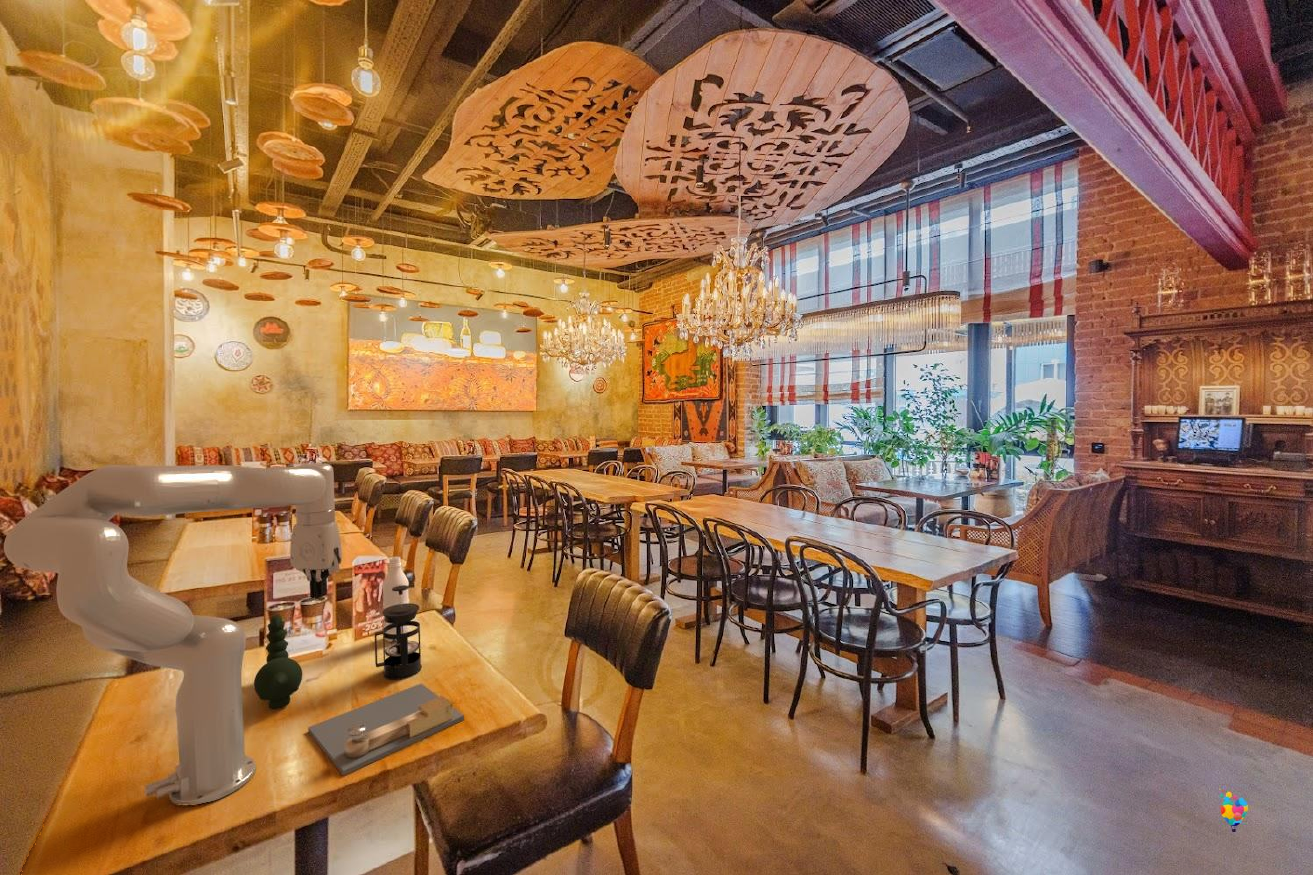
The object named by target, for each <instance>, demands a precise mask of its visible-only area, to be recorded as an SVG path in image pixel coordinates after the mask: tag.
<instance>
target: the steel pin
mask: <svg viewBox="0 0 1313 875" xmlns="http://www.w3.org/2000/svg"><path fill="white" fill-rule="evenodd" d="M365 731H366V725H364V724H358V725H355V726H352V727H351V728H349V730H348V735H350V736H352V742H353V743H357V742H360V741H362V740H363V733H364V732H365Z"/></svg>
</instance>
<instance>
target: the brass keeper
mask: <svg viewBox="0 0 1313 875" xmlns="http://www.w3.org/2000/svg"><path fill="white" fill-rule="evenodd" d="M452 707H453V702H451V701H450V700H449V699H447V698H446V697H445V696H443V695H441V696H439V697H438V698H436V699H433V700H431V701H428V702H426V703H424V704H421V705H419V710H420V711H422V712H423V713H424V714H425V715H422V716H420V717H418V718H415V719H413V720H411V721H408V722H407V736H408V737H409V738H410V739H411V738H413V737H415V736H417V735H419V734H422V733H424V732H426V731H428V730H430V729H432V728H435V727H437V726H439V725H441V724H443V723H446V722H448V721H450V720H452Z"/></svg>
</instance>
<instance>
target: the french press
mask: <svg viewBox="0 0 1313 875" xmlns="http://www.w3.org/2000/svg"><path fill="white" fill-rule="evenodd" d="M407 589H408V590H409V589H410V586H409V585H408V586H406V585H401V586H396V587H394V588H392V591H399V595H400V604H398V605H394V606H390V607H388V608H386V609H383V610H382V611H381V612H382V616H383V617H384V623H385V622H387V623H392V624H390V625H388V626H386V627H385V628H384V627H383V629H382V630H381V631H376V632H374V660H375V662H374V663H375V667H376V668H381V667H383V671H382V674H383V675H382V676H383V678H385V679H386V680H387V679H388V680H392V681H398V680H404V679H405V680H406V679H409V678H411V677H413V675H414V676H416V675H417V674H419V673H420V672H421V671H422V669H421V668H423V667H422V666H423V665H422V662H421V661H422V660H421V659H422V658H421V656H422V655H421V654H422V653H421V624H420V622H418V621H416V620H414V619H415V618H416V616H417V614H418V611H419V610H420V606H419V605H418V604H416V603H410V602H409V603H405V604H402V597H401V595H402V594H403V591H404V590H407ZM403 626H410V627H411V626H412V627H416V628H415V629H412V630H410V631H409V632H407V633H403ZM395 627H396V634H387V633H385V632H386V631H388V630H390V629H392V628H395ZM417 634H418V641H416V640H415V641H414V640H408V639H409V638H411V637H413V636H415V635H417ZM380 635H382V645H383V648H382V649H383V650H382V651H383V652H382V653H383V662H379V663H378V641H377V640H378V639H377V636H380ZM386 639H394V640H395V639H396V640H395V643H392V644H390V645H387V647H386V644H385V640H386ZM417 651H418V652H417ZM386 656H387V657H386ZM419 671H420V672H419ZM418 672H419V673H418Z"/></svg>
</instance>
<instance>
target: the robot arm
mask: <svg viewBox="0 0 1313 875" xmlns="http://www.w3.org/2000/svg"><path fill="white" fill-rule="evenodd" d="M334 477H335V474H334V467H333V466H332V465H331V464H328V463H321V462H318V463H316V462H315V463H306V464H300V465H298V466H297V465H296V466H271V467H265V468H263V467H261V468H260V467H248V466H241V465H240V466H238V465H225V464H224V465H222V464H216V465H215V464H213V465H211V464H209V465H208V464H207V465H204V464H203V465H126V464H125V465H123V464H109V465H106V466H101V467H98V468H96V469H95V470H92V471H90V472H89V473H87V474H85V475H84V476H82V477H81V478H79V479H77V480H76V481H74V482H73V483H71V484H70V485H68V486H67V487H65V488H63V490H61V491H59V492H58V493H57V494H56V495H55V496H53V497H51V498H50V499H48V500H47V501H45V503H43V504H41V505H40V506H39V507H37V508H36V509H34V510H33V511H32V512H30V513H28V514H27V515H26V516H25V517H23V518H22V519H20V521H18V522H17V523H16V524H15V525H14V526H13V527H12V528H11V529H10V530H9V532H8V533H7V535H6V537H5V539H4V543H3V551H4V555H5V557H6V559H7V560H8V561H9V562H11V563H12V564H13V565H15V566H17V567H19V568H21V569H23V570H24V569H25V570H29V571H34V572H35V571H36V572H43V573H53V574H57V581H56V590H55V591H56V601H57V606H58V609H59V611H60V613H61V614H62V616H63V617H65V618H66V619H68V620H69V621H70V622H72V623H73V624H76V625H78V626H80V627H81V631H82V633H83V635H84V638H85V639H86V640H87V642H89V643H90V644H91V645H94V646H95V647H98V648H99V649H102V650H104V651H108V652H110V653H113V654H116V655H119V656H122V657H125V658H127V659H131V660H133V661H137V662H139V663H141V664H142V663H143V664H146V665H148V666H149V665H150V666H153V667H159V668H165V669H171V670H177V671H182V672H183V678H182V681H181V683H180V684H179V688H178V689H177V692H176V696H175V713H176V725H177V726H176V727H177V728H176V729H177V746H178V761H179V764H178V765H176V766H175V767H174V768H175V769H174V770H175V771H174V772H172V773H170V774H168V777H164V778H162V779H159V780H156V781H153V782H150V783H147V784H145V785H144V789H145V791H144V792H145V796H146V797H150V796H152V795H155V794H156V799H160V798H162V797H164V796H167V795H169V796H168V797H169V800H171V801H172V802H173V803H175V804H181V805H183V804H188V805H191V804H200V803H205V802H209V803H211V801H212V802H214V801H217V800H220V799H222V798H224V797H227V796H229V795H231V794H232V793H234V792H235V791H237V790H239V789H240V788H242V787H243V786H244V785H245V784H247V783H248V781H250V780H251V779H252V777H253V776H254V774H255V772H256V762H255V760H254V759H253V758H252V757H250V756H246V751H245V735H244V734H245V732H244V731H245V730H244V729H245V728H244V710H243V707H244V706H243V688H242V671H243V670H242V669H243V660H244V655H245V650H246V645H247V636H246V632H245V631H244V628H243V627H242V626H241V625H240V624H238V622H235V621H234V620H231V619H228V618H224V617H218V616H209V615H199V614H193V612H192V610H191V609H190V607H189V606H188V605H187V604H185V603H184V602H183V601H182V600H181V599H178V598H177V597H174V596H171V595H169V594H166V593H164V592H162V591H160V590H158V589H155V588H153V587H151V586H149V585H148V584H147V585H146V584H144V583H143V582H141V581H139V580H137V579H135V577H132V576H131V575H130V574H129V571H128V558H129V550H130V549H129V548H130V547H129V546H130V545H129V540H128V537H127V535H126V533H125V532H124V530H123V529H122V528H121V527H119V525H117V524H115V523H113V522H111V521H110V520H111V519H113V518H114V517H115V516H125V517H126V516H128V517H157V516H170V515H179V514H189V513H203V512H215V511H216V512H217V511H234V510H236V511H237V510H246V509H256V508H258V509H259V508H273V507H274V508H275V507H289V506H295V512H294V518H295V519H296V523H295V524H293V527H292V529H291V530H292V531H291V536H290V537H291V538H290V549H289V551H290V552H289V553H290V555H289V556H290V560H289V561H290V565H291V567H292V568H294V569H296V571H299V572H301V573H303V574H304V575H305V577H306V580H307V582H309V595H310V596H309V597H310V599H315V600H317V599H320V598H323V597H324V596H325V597H326V596H327V595H328V579H329V578H330V576H331V575H332V574H336V573H339V572H340V571H341V567H340V564H341V563H342V559H343V558H342V556H343V555H342V554H343V550H342V542H341V536H340V535H341V533H340V529H339V525H338V522H336V508H335V507H336V506H335V502H336V501H335V478H334ZM171 801H170V802H171ZM172 802H171V803H172ZM173 803H172V804H173ZM175 804H174V805H175ZM205 804H206V803H205Z"/></svg>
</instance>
